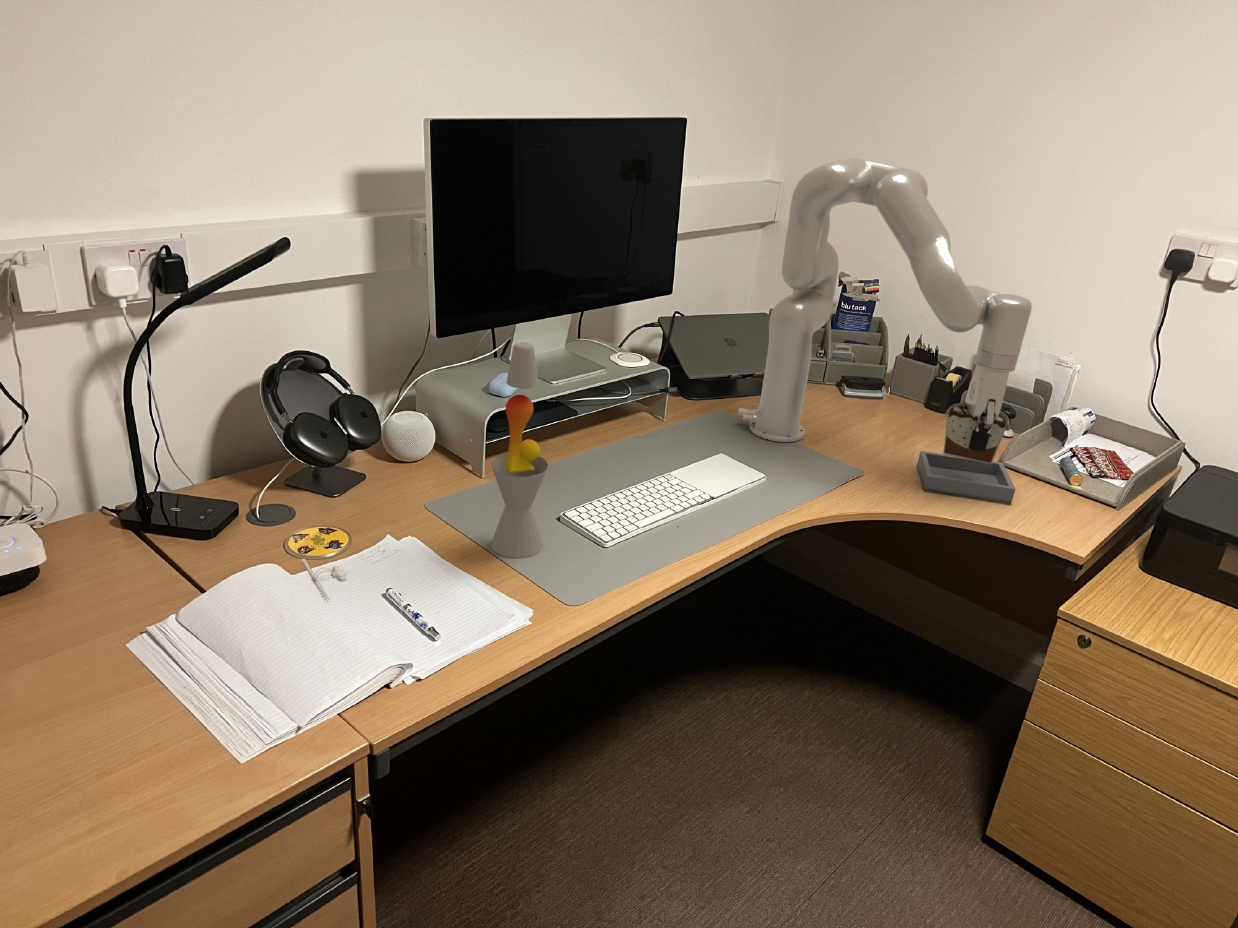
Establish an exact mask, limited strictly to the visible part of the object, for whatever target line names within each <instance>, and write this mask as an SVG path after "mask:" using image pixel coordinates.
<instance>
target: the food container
mask: <svg viewBox="0 0 1238 928" xmlns="http://www.w3.org/2000/svg"><path fill="white" fill-rule="evenodd" d="M946 416H947V419H946V428H945V436H944V437H945V438H944V444H943V446H944V447H943V452H942V454H946V455H952V456H956V457H960V458H965V459H969V460H974V461H978V462H983V463H987V464H992V461H994V459H995V456H996V453H997V451H998V449H999V447H1000V444H1001V442H1002V439H1003V436H1004V435H1005V434H1004V433H1005V431H1006V430H1007V431H1010V421H1009V417H1008V416H1007V414H1005V413H1004V412H1003V411H1001V410H1000V413H999V415H998V418H997V419H995V420H994V421H993V425H992V426H991V427H992V428H991V432H990V435H989V439H988V443H987V446H986V450H985V451H978V450H971V449H969V443H970V439H971V435H972V432H973V430H975V426H976V420H977V416H976V417H973V416H972V415H971V414H970V412H969V410H968V408H967V405H966V402H959V403H954V404H952V405H950V406H949V407H948V409H947V410H946V412H945V414H944V416H943V417H944V418H946ZM981 416H983V417H986V414H981ZM984 421H985V420H981V421H980V424H981V423H982V422H984ZM1006 428H1007V429H1006Z"/></svg>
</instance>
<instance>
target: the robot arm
mask: <svg viewBox="0 0 1238 928" xmlns="http://www.w3.org/2000/svg"><path fill="white" fill-rule="evenodd" d="M792 192H793V193H792V196H791V201H790V207H789V217H788V223H787V230H786V235H785V241H784V242H785V243H784V249H783V257H782V263H781V276H782V279H783V281H784V284H785V285H786V286H788V287H789V288H791V289H792V294H790V295H788V296H786V297H784V298H782V299H781V300H780V301H779V302H778V303H777V304H776V305H775V306H774V308H773V310H772V311H771V312H770V317H769V323H768V347H767V354H766V361H765V362H766V363H765V369H764V374H763V381H762V387H761V395H760V399H759V401H760V402H759V405H757V408H756V409H755V408H753V409H747V408H742V407H739V408H738V414H737V417H742V420H743V421H749V422H750V423H749V430H750V432H752V434H754V435H755V436H757V437H759V438H762V439H764V440H767V439H768V441H771V442H772V441H773V442H779V443H792V442H797V441H800V440H802V439H803V438H805V434H806V429H805V428H804V427H803V425H801V424H800V423H801V416H802V413H803V408H804V407H803V406H804V401H805V395H806V394H805V393H806V390H807V383H808V378H809V373H810V366H811V362H812V361H811V360H812V349H813V345H812V343H813V342H812V340H813V335H814V333H816V332H817V331H818V330H820V329H822V327H824V325H826V323H827V322H828V321H829V319H830V317H831V314H832V309H833V305H834V300H835V299H834V298H835V293H836V287H837V286H836V285H837V280H838V273H839V256H838V253H837V250H836V249H835V248H834V246H833V245H832V244H831V243H830V242H828V237H829V232H830V226H831V219H830V214H831V210H832V208H834V207H837V206H840V205H841V206H842V205H845V204H850V203H859V204H863V205H868V206H872V207H876V209H877V211H878V213H880V215H881V217H882V219H883V220H884V222H885V223H886V225H887V226H888V228H889V229H890V231H891V233H892V234H893V236H894V238H895V239H896V241H897V242H898V244H899V245H900V247H901V249H902V251H903V252H904V254H905V255H906V257H907V258H908V261H909V263H910V267H911V270H912V272H913V275H914V277H915V279H916V282H917V284H918V286H919V290H920V291H921V293H922V296H923V297H924V298H925V300H926V302H927V304H928V305H929V307H930V308H931V310H932V312H933V313H934V315H935V316H936V318H937V320H938V321H939V322H940V323H941V324H942V326H944V327H945V328H946V329H947V330H949V331H951V332H953V333H967V332H969V331H971V330H973V329H974V328H975V327H977V326H978V325H982V331H981V336H980V339H979V342H978V347H977V350H976V354H975V358H974V365H976V366H975V368H974V370H973V374H972V377H971V380H970V384H969V386H968V390H967V394H966V395H965V402H964V403H966V405H967V408H968V410H969V412H970V414H971V415H972V416H973V417H976V416H977V420H976V426H975V430H973V432H972V435H971V439H970V443H969V449H971V450H978V451H985V450H986V446H987V443H988V439H989V435H990V432H991V428H992V427H991V426H992V425H993V421H994V420H995V419H997V418H998V415H999V413H1000V411H1001V409H1002V405H1003V402H1004V397H1005V393H1006V389H1007V384H1008V380H1009V374H1010V373H1012V372H1015V370H1016V367H1017V363H1018V359H1019V356H1020V352H1021V349H1022V345H1023V342H1024V338H1025V334H1026V331H1027V327H1028V325H1029V324H1028V323H1029V320H1030V316H1031V313H1032V307H1033V305H1032V302H1031V300H1030V299H1027V298H1026V297H1024V296H1020V295H1016V294H1008V293H999V292H997V291H993V290H989V289H987V288H984V287H981V286H978V285H966V283H965V282H964V280H963V279H962V277H961V275H960V274H959V271H958V269H957V267H956V265H955V263H954V260H953V256H952V248H951V244H952V243H951V238H950V233H949V230H948V229H947V228H946V227H945V225H944V224H943V222H942V221H941V219H940V217H939V216H938V214H937V212H936V211H935V209H934V208H933V206H932V204H931V203H930V202H929V199H928V198H927V196H928V192H929V189H928V184H927V181H926V179H925V176H923V175H922V174H921V173H920V172H918V171H916V170H914V169H911V168H904V167H900V166H896V165H890V164H885V163H880V162H875V161H872V160H866V159H860V158H848V159H847V158H846V159H841V160H834V161H831V162H827V163H823V164H822V165H820V166H817V167H815V168H813V169H811V170H810V171H808V172H806V174H804V175H803V176H802V178H801V179H800V180H799V181H798V183H797V184H796V186H795V188H794V190H793V191H792ZM981 414H986V417H983V416H981ZM981 420H985V421H984V422H982V423H981V424H980V421H981Z"/></svg>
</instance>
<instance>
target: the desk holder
mask: <svg viewBox="0 0 1238 928" xmlns="http://www.w3.org/2000/svg"><path fill="white" fill-rule="evenodd" d="M916 467H917V471H918V475H919V479H920V482H921V486H922V490H923V492H925V493H932V494H938V495H944V496H950V497H958V498H964V499H972V500H975V501H976V500H977V501H985V502H990V503H997V504H1003V505H1012V502H1013V499H1014V495H1015V492H1016V486H1015V485H1014V484H1013V481H1012V479H1011V476H1010V475H1009V473H1008V471H1007V469H1006V466H1005V464H1004V463H1003V462H1002V461H1001V462H1000V461H999V462H998V461H994V460H993V461H992V464H987V463H983V462H978V461H974V460H969V459H965V458H960V457H956V456H952V455H947V454H943V453H939V452H932V451H925V450H920V452H919V455H918V459H917V464H916Z"/></svg>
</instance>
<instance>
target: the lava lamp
mask: <svg viewBox="0 0 1238 928" xmlns="http://www.w3.org/2000/svg"><path fill="white" fill-rule="evenodd" d="M510 356H511V357H510V363H509V367H508V373H507V377H506V384H507V385H508V386H510V387H512V388H516V389H523V390H524V389H525V390H526V389H527V390H528V389H533V388H536V387H538V386H539V377H538V369H537V360H536V352H535V347H534V344H532V343H530V342H527V341H525V342H524V341H520V342H516V343H515V344H514V345H513V347H512V352H511V355H510ZM505 412H506V413H505V414H506V417H507V421H508V426H509V427H508V429H509V445H508V452H507V453H504V454H503V453H502V454H500V455H498V456H496V457H495V458H494V459H492V462H491V467H492V471H493V474H494V476H495V479H496V482H497V485H498V488H499V491H500V493H501V496H502V499H503V502H504V505H505V506H504V507H503V510H502V512H501V516H500V518H499V521H498V524H497V527H496V529H495V532H494V535H493V538H492V540H491V543H490V545H491V549H492V551H494V552H495V553H497V554H498V555H500V556H502V557H505V558H506V557H507V558H510V559H511V558H512V559H525V558H529V557H534V556H536V555H537V554H539V553H540V552H541V551H542V550H543V548H544V543H543V540H542V537H541V532H540V530H539V526H538V524H537V519H536V516H535V513H534V510H533V503H534V501H535V499H536V496H537V494H538V491H539V489H540V487H541V485H542V483H543V481H544V478H545V475H546V472H547V469H548V467H549V465H548V464H549V463H548V462H547V460H545V459H544V458H543V457H541V456H540V455H541V454H540V453H541V447H540V444H538V442H537V441H535V440H534V439H525V440H522V439H523V433H524V431H525V428H526V426H527V424H528V423H529V420H530V419H531V417H532V416H533V413H534V404H533V402H532V400H531V399H530V398H529V397H528V396H526V395H524V394H514V395H512V396H511V397H510V398H509V399H508V400H507V401H506V404H505Z"/></svg>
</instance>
